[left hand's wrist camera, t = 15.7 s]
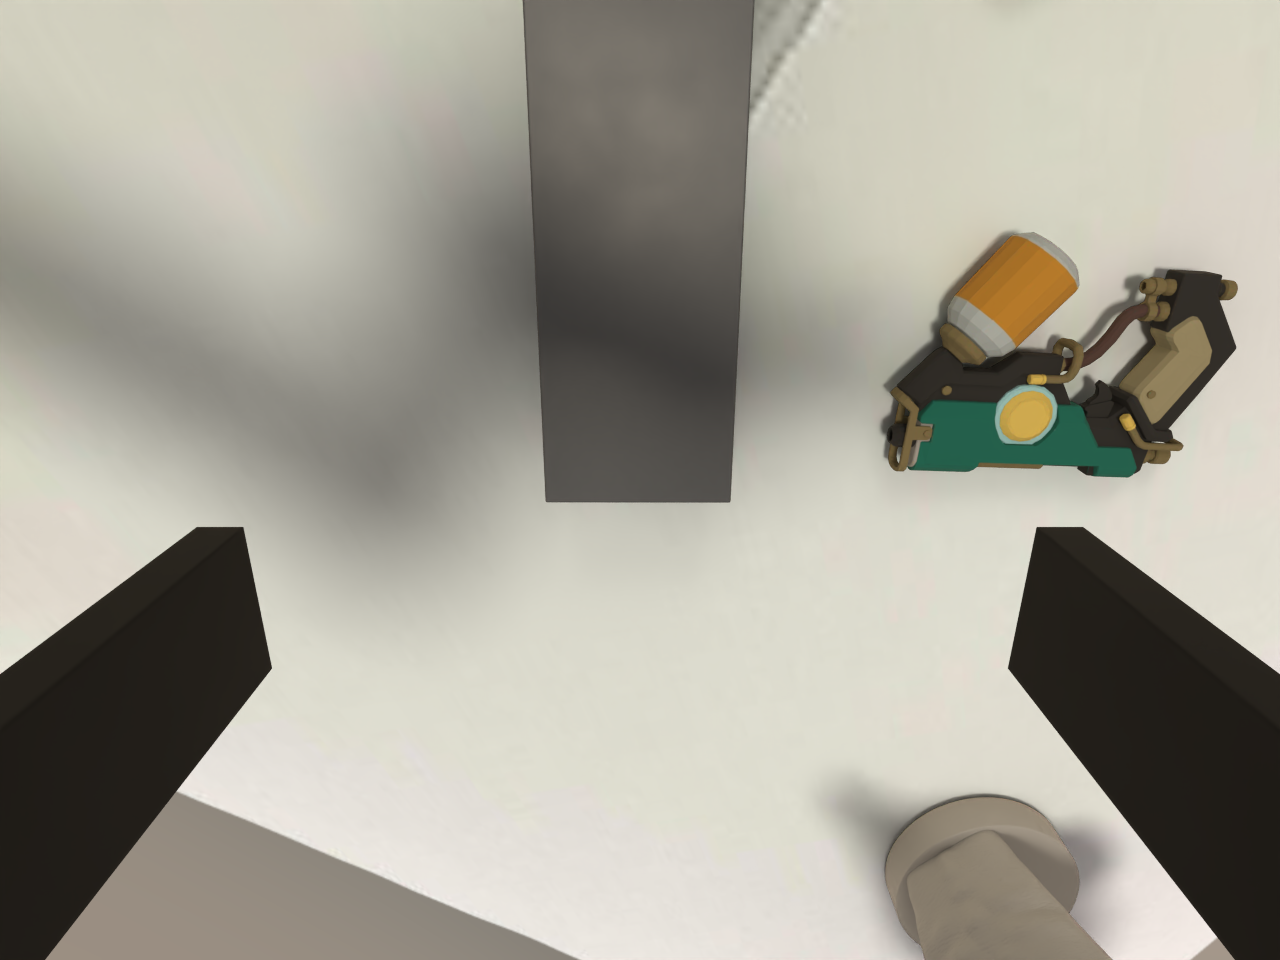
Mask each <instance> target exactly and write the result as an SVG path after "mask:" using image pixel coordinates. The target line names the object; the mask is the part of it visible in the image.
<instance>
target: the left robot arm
mask: <svg viewBox="0 0 1280 960" xmlns="http://www.w3.org/2000/svg"><path fill="white" fill-rule="evenodd" d="M271 669H272V666H271V661H270V656H269V651H268V646H267V641H266V636H265V632H264V627H263V622H262V617H261V612H260V607H259V602H258V597H257V592H256V587H255V582H254V578H253V573H252V568H251V563H250V558H249V553H248V548H247V543H246V538H245V533H244V528H243V527H196V528H195V529H194V530H192V531H191V532H190V533H188V534H187V535H186V536H184V537H183V538H182V539H180V540H179V541H178V542H176V543H175V544H174V545H172V546H171V547H170V548H168V549H167V550H166V551H164V552H163V553H162V554H160V555H159V556H158V557H156V558H155V559H154V560H152V561H151V562H150V563H148V564H147V565H146V566H144V567H143V568H142V569H140V570H139V571H138V572H136V573H135V574H134V575H132V576H131V577H130V578H128V579H127V580H126V581H124V582H123V583H122V584H120V585H119V586H118V587H116V588H115V589H114V590H112V591H111V592H110V593H108V594H107V595H106V596H104V597H103V598H102V599H100V600H99V601H97V602H96V603H95V604H93V605H92V606H91V607H89V608H88V609H87V610H85V611H84V612H83V613H81V614H80V615H79V616H77V617H76V618H75V619H73V620H72V621H71V622H69V623H68V624H67V625H65V626H64V627H63V628H61V629H60V630H59V631H57V632H56V633H55V634H53V635H52V636H51V637H49V638H48V639H47V640H45V641H44V642H43V643H41V644H40V645H39V646H37V647H36V648H35V649H33V650H32V651H31V652H29V653H28V654H27V655H25V656H24V657H23V658H21V659H20V660H19V661H17V662H16V663H15V664H13V665H12V666H11V667H9V668H8V669H7V670H5V671H4V672H3V673H1V674H0V960H45V959H46V958H47V957H48V955H49V954H50V953H51V951H52V950H53V949H54V948H55V946H56V945H57V944H58V942H59V941H60V940H61V939H62V937H63V936H64V935H65V933H66V932H67V931H68V930H69V928H70V927H71V926H72V925H73V923H74V922H75V921H76V919H77V918H78V917H79V915H80V914H81V913H82V912H83V910H84V909H85V908H86V907H87V905H88V904H89V903H90V901H91V900H92V899H93V898H94V896H95V895H96V894H97V892H98V891H99V890H100V888H101V887H102V886H103V885H104V883H105V882H106V881H107V880H108V878H109V877H110V876H111V874H112V873H113V872H114V871H115V869H116V868H117V867H118V865H119V864H120V863H121V862H122V860H123V859H124V858H125V856H126V855H127V854H128V853H129V851H130V850H131V849H132V847H133V846H134V845H135V844H136V842H137V841H138V840H139V838H140V837H141V836H142V835H143V833H144V832H145V831H146V829H147V828H148V827H149V826H150V824H151V823H152V822H153V821H154V819H155V818H156V817H157V815H158V814H159V813H160V812H161V810H162V809H163V808H164V806H165V805H166V804H167V803H168V801H169V800H170V799H171V797H172V796H173V795H174V793H175V792H176V791H177V790H178V788H179V787H180V786H181V785H182V783H183V782H184V781H185V779H186V778H187V777H188V776H189V774H190V773H191V772H192V770H193V769H194V768H195V767H196V765H197V764H198V763H199V761H200V760H201V759H202V758H203V756H204V755H205V754H206V752H207V751H208V750H209V749H210V747H211V746H212V745H213V743H214V742H215V741H216V740H217V738H218V737H219V736H220V734H221V733H222V732H223V731H224V729H225V728H226V727H227V726H228V724H229V723H230V722H231V720H232V719H233V718H234V717H235V715H236V714H237V713H238V711H239V710H240V709H241V708H242V706H243V705H244V704H245V702H246V701H247V700H248V699H249V697H250V696H251V695H252V693H253V692H254V691H255V690H256V688H257V687H258V686H259V684H260V683H261V682H262V681H263V679H264V678H265V677H266V675H267V674H268V673H269V672H270V670H271ZM1008 669H1009V670H1010V672H1011V673H1012V674H1013V675H1014V677H1015V678H1016V679H1017V681H1018V682H1019V683H1020V684H1021V686H1022V687H1023V688H1024V690H1025V691H1026V692H1027V693H1028V695H1029V696H1030V697H1031V699H1032V700H1033V701H1034V702H1035V704H1036V705H1037V706H1038V708H1039V709H1040V710H1041V711H1042V713H1043V714H1044V715H1045V717H1046V718H1047V719H1048V720H1049V722H1050V723H1051V724H1052V726H1053V727H1054V728H1055V729H1056V731H1057V732H1058V733H1059V735H1060V736H1061V737H1062V738H1063V740H1064V741H1065V742H1066V743H1067V745H1068V746H1069V747H1070V749H1071V750H1072V751H1073V752H1074V754H1075V755H1076V756H1077V758H1078V759H1079V760H1080V761H1081V763H1082V764H1083V765H1084V767H1085V768H1086V769H1087V770H1088V772H1089V773H1090V774H1091V776H1092V777H1093V778H1094V779H1095V781H1096V782H1097V783H1098V785H1099V786H1100V787H1101V788H1102V790H1103V791H1104V792H1105V794H1106V795H1107V796H1108V797H1109V799H1110V800H1111V801H1112V803H1113V804H1114V805H1115V806H1116V808H1117V809H1118V810H1119V812H1120V813H1121V814H1122V815H1123V817H1124V818H1125V819H1126V821H1127V822H1128V823H1129V824H1130V826H1131V827H1132V828H1133V830H1134V831H1135V832H1136V833H1137V835H1138V836H1139V837H1140V838H1141V840H1142V841H1143V842H1144V844H1145V845H1146V846H1147V847H1148V849H1149V850H1150V851H1151V853H1152V854H1153V855H1154V856H1155V858H1156V859H1157V860H1158V862H1159V863H1160V864H1161V865H1162V867H1163V868H1164V869H1165V871H1166V872H1167V873H1168V874H1169V876H1170V877H1171V878H1172V880H1173V881H1174V882H1175V883H1176V885H1177V886H1178V887H1179V889H1180V890H1181V891H1182V892H1183V894H1184V895H1185V896H1186V898H1187V899H1188V900H1189V901H1190V903H1191V904H1192V905H1193V907H1194V908H1195V909H1196V910H1197V912H1198V913H1199V914H1200V916H1201V917H1202V918H1203V919H1204V921H1205V922H1206V923H1207V925H1208V926H1209V927H1210V928H1211V930H1212V931H1213V932H1214V933H1215V935H1216V936H1217V937H1218V939H1219V940H1220V941H1221V942H1222V944H1223V945H1224V946H1225V948H1226V949H1227V950H1228V951H1229V953H1230V954H1231V955H1232V957H1233V958H1234V959H1235V960H1280V674H1279V673H1277V672H1276V671H1275V670H1273V669H1272V668H1271V667H1269V666H1268V665H1267V664H1265V663H1264V662H1263V661H1261V660H1260V659H1259V658H1257V657H1256V656H1255V655H1253V654H1252V653H1251V652H1249V651H1248V650H1247V649H1245V648H1244V647H1243V646H1241V645H1240V644H1239V643H1237V642H1236V641H1235V640H1233V639H1232V638H1231V637H1229V636H1228V635H1227V634H1225V633H1224V632H1223V631H1221V630H1220V629H1219V628H1217V627H1216V626H1215V625H1213V624H1212V623H1211V622H1209V621H1208V620H1207V619H1205V618H1204V617H1203V616H1201V615H1200V614H1199V613H1197V612H1196V611H1195V610H1193V609H1192V608H1191V607H1189V606H1188V605H1187V604H1185V603H1184V602H1183V601H1181V600H1180V599H1178V598H1177V597H1176V596H1174V595H1173V594H1172V593H1170V592H1169V591H1168V590H1166V589H1165V588H1164V587H1162V586H1161V585H1160V584H1158V583H1157V582H1156V581H1154V580H1153V579H1152V578H1150V577H1149V576H1148V575H1146V574H1145V573H1144V572H1142V571H1141V570H1140V569H1138V568H1137V567H1136V566H1134V565H1133V564H1132V563H1130V562H1129V561H1128V560H1126V559H1125V558H1124V557H1122V556H1121V555H1120V554H1118V553H1117V552H1116V551H1114V550H1113V549H1112V548H1110V547H1109V546H1108V545H1106V544H1105V543H1104V542H1102V541H1101V540H1100V539H1098V538H1097V537H1096V536H1094V535H1093V534H1092V533H1090V532H1089V531H1088V530H1086V529H1085V528H1084V527H1037V528H1036V533H1035V538H1034V543H1033V548H1032V553H1031V558H1030V563H1029V568H1028V573H1027V577H1026V582H1025V587H1024V592H1023V597H1022V602H1021V607H1020V612H1019V617H1018V622H1017V627H1016V632H1015V636H1014V641H1013V646H1012V651H1011V656H1010V661H1009V666H1008Z"/></svg>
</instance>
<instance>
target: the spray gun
mask: <svg viewBox="0 0 1280 960" xmlns="http://www.w3.org/2000/svg"><path fill="white" fill-rule="evenodd" d="M1221 279H1222V275H1220V274H1215V273H1210V272H1205V271H1186V270H1168V271H1167V274H1166V278H1165V280H1164V279H1163V278H1157V277H1152V278H1149V279H1144V280H1143V281H1142V282H1141V283H1140V288H1139V290H1140V292H1142V293H1143V294H1146V297H1145V301H1144V302H1142V303H1140V304H1139V305H1136V306H1132V307H1130V308H1128V309H1126V310H1124V311H1123V312H1122V313H1121V314H1120V315H1119V316H1118V317H1117V318H1116V319H1115V320H1114V322H1113V323H1112V325H1111V326H1110V327H1109V329H1108V330H1107V331H1106V333H1105V334H1104V335H1103V336H1102V337H1101V338H1100V339H1099V340H1098V341H1097V342H1096V344H1095V345H1093V346H1092V347H1091V348H1090V349H1088V350H1087V351H1086V352H1083V347H1082V346H1081V345H1080V344H1079V343H1077V342H1076V341H1074V340H1072V339H1066V338H1061V339H1059V340H1058V341H1057V343H1056V344H1055V345H1054V347H1053V351H1052V353H1029V352H1016V353H1014V354H1012V355H1011V356H1009V357H1007V358H1006V359H1004V360H1002V361H1001V362H999V363H997V364H996V365H994V366H992V367H991V368H963V365H962V363H971V364H975V365H980V364H981V363H982V362H983V361H984V360H985V359H986V356H987V357H997V356H1004V355H1005V354H1007V353H1009V352H1011V351H1012V350H1014V349H1015V348H1016V347H1018V346H1019V345H1020V344H1021V343H1022V342H1023V341H1024V340H1025V339H1026V338H1027V337H1028V336H1029V335H1030V334H1031V333H1032V332H1033V331H1034V330H1036V329H1037V328H1038V327H1039V326H1040V325H1041V324H1042V323H1043V322H1044V321H1045V320H1046V319H1047V318H1048V317H1049V316H1050V315H1051V314H1052V313H1054V312H1055V311H1056V310H1057V309H1058V308H1059V307H1060V306H1061V305H1062V304H1063V303H1064V302H1065V301H1066V300H1067V299H1068V298H1069V297H1070V296H1072V295H1073V294H1074V293H1075V292H1076V290H1077V289H1078V287H1079V275H1078V270H1077V267H1076V265H1075V264H1074V262H1073V261H1072V260H1071V259H1070V257H1069V256H1067V255H1066V254H1065V253H1064V252H1063V251H1062V250H1061V249H1060V248H1059V247H1057V246H1056V245H1055V244H1053V243H1052V242H1051V241H1049V240H1047V239H1045V238H1044V237H1042V236H1040V235H1038V234H1036V233H1034V232H1032V233H1022V234H1014V235H1012V236H1011V237H1010V238H1009V239H1008V240H1007V241H1006V242H1005V243H1004V244H1003V245H1002V246H1001V247H1000V248H999V249H998V250H997V251H996V253H995V254H994V255H993V256H992V257H991V258H990V259H989V260H988V261H987V262H986V263H985V264H984V265H983V266H982V267H981V268H980V269H979V270H978V271H977V272H976V274H975V275H974V276H973V277H972V278H971V279H970V280H969V281H968V282H967V283H966V284H965V285H964V286H963V287H962V288H961V289H960V290H959V291H958V292H957V293H956V295H955V296H954V297H953V299H952V301H951V303H950V304H949V306H948V324H947V323H945V324H944V325H943V326H942V327H941V328H940V331H939V332H940V335H941V338H942V345H943V347H940V348H938V349H936V350H935V351H933V352H932V353H931V354H930V355H929V356H928V357H927V358H926V359H925V360H924V361H922V362H921V363H920V364H919V365H918V366H917V367H916V368H915V369H914V370H913V371H912V372H911V373H909V374H908V375H907V376H906V377H905V378H904V379H903V380H902V381H901V382H900V383H899V384H897V387H898V388H897V387H895V388H894V389H893V390H892V391H891V392H890V393H891V395H892V396H893V397H894V398H895V399H896V400H897V401H898V402H899V404H898V409H897V414H896V418H895V423H894V425H892V426H891V427H890V428H889V429H888V432H887V438H888V441H889V443H890V448H889V455H888V460H889V464H890V466H891V467H892V468H893V469H894V470H895V471H904V470H905V469H906V468H907V467H908V469H910V470H923V471H956V472H969V471H971V470H973V469H975V468H976V467H1000V468H1031V469H1039V468H1041V467H1042V466H1043V465H1051V466H1078V468H1077V469H1078V470H1080V471H1081V472H1083V473H1084V474H1086V475H1091V476H1100V477H1130V476H1132V475H1133V474H1135V473H1137V472H1138V471H1139V470H1140V469H1141V467H1142V464H1143V463H1146V462H1148V463H1151V464H1165V463H1166V462H1168V460H1169V458H1170V456H1171V452H1170V451H1180V450H1182V448H1183V444H1182V443H1181V442H1179V441H1177V440H1175V439H1173V435H1172V431H1171V430H1169V427H1170V426H1171V425H1172V424H1173V423H1174V422H1175V421H1176V419H1177V418H1178V417H1179V416H1180V415H1181V414H1182V412H1183V411H1184V410H1185V409H1186V408H1187V407H1188V405H1189V404H1190V403H1191V402H1192V401H1193V400H1194V399H1195V397H1196V396H1197V395H1198V394H1199V393H1200V391H1201V390H1202V389H1203V388H1204V387H1205V385H1206V384H1207V383H1208V382H1209V381H1210V379H1211V378H1212V377H1213V376H1214V375H1215V373H1216V372H1217V371H1218V370H1219V369H1220V367H1221V366H1222V365H1223V364H1224V363H1225V361H1226V360H1227V359H1228V358H1229V357H1230V355H1231V354H1232V353H1233V352H1234V351H1235V349H1236V345H1235V342H1234V339H1233V336H1232V334H1231V331H1230V328H1229V325H1228V322H1227V320H1226V317H1225V314H1224V311H1223V309H1222V306H1221V303H1220V300H1230V299H1232V298H1233V297H1234V296H1235V295H1236V293H1237V290H1238V287H1237V284H1236V282H1234V281H1230V280H1221ZM1159 295H1160V296H1159ZM1157 296H1159V299H1158V302H1157V303H1156V299H1157ZM1135 319H1138V320H1139V321H1151V324H1150V325H1151V329H1150V332H1151V335H1152V337H1153V338H1154V340H1155V343H1156V344H1155V346H1154V347H1153V348H1152V349H1151V350H1150V351H1149V352H1148V353H1147V354H1146V355H1145V356H1144V357H1143V358H1142V360H1141V361H1140V362H1139V363H1138V364H1137V365H1136V366H1135V367H1134V368H1133V369H1132V370H1131V371H1130V372H1129V373H1128V375H1127V376H1126V377H1125V378H1124V379H1123V380H1122V381H1121V383H1120V385H1119V388H1117V387H1115V386H1109V387H1108V386H1107V385H1106V384H1105V383H1104V382H1102V381H1101V380H1098V381H1097V382H1096V383H1095V386H1096V391H1095V394H1094V395H1093V396H1092V397H1091V398H1089V399H1088V400H1086V402H1084V403H1082V404H1080V405H1078V404H1076V403H1074V402H1072V401H1069V398H1068V395H1067V392H1066V390H1065V387H1064V384H1063V383H1067V382H1069V381H1071V380H1072V379H1074V378H1075V376H1076V375H1077V374H1078V372H1079V370H1080V368H1082V367H1085V366H1087V365H1089V364H1091V363H1092V362H1094V361H1095V360H1097V359H1098V358H1100V357H1101V356H1102V355H1103V354H1104V353H1105V352H1106V351H1107V350H1108V349H1109V348H1110V347H1111V346H1112V345H1113V344H1114V343H1115V342H1116V341H1117V339H1118V338H1119V337H1120V335H1121V334H1122V333H1123V331H1124V330H1125V329H1126V327H1127V326H1128V325H1129V324H1130V323H1131V322H1132V321H1133V320H1135ZM1064 347H1066V348H1069V349H1070V350H1072V351H1073V355H1074V356H1073V357H1072V358H1063V356H1061V355H1062V350H1063V348H1064ZM1062 371H1068V372H1067V373H1066V374H1064V375H1060V373H1061V372H1062ZM912 400H913V401H914V402H913V401H912ZM906 408H907V409H908V412H909V416H904V414H905V409H906ZM1151 441H1158V442H1164V443H1151ZM898 447H902V452H901V456H900V461H899V463H898V461H897V457H896V456H897V449H898Z"/></svg>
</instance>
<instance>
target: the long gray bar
mask: <svg viewBox="0 0 1280 960" xmlns="http://www.w3.org/2000/svg"><path fill="white" fill-rule="evenodd" d="M523 15H524V37H525V59H526V80H527V102H528V124H529V146H530V168H531V190H532V212H533V234H534V256H535V278H536V299H537V321H538V343H539V365H540V387H541V409H542V431H543V453H544V475H545V497H546V502H730V500H731V479H732V458H733V437H734V417H735V396H736V375H737V354H738V333H739V312H740V291H741V270H742V249H743V228H744V208H745V187H746V166H747V145H748V124H749V103H750V82H751V61H752V40H753V19H754V0H523Z"/></svg>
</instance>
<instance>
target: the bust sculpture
mask: <svg viewBox="0 0 1280 960" xmlns="http://www.w3.org/2000/svg"><path fill="white" fill-rule="evenodd" d="M885 878H886V884H887V887H888V890H889V893H890V896H891V899H892V901H893V904H894V907H895V910H896V913H897V915H898V918H899V921H900V923H901V925H902V927H903V928H904V930H905V931H906V932H907V934H908V935H909V936H910V937H911V938H912V939H913V940H914V941H915V942H917V943H918V944H919V945H921V948H922V951H923V954H924V959H925V960H1112V959H1111V958H1110V957H1109V956H1108V955H1107V953H1106V952H1105V951H1104V950H1103V949H1102V948H1101V947H1100V946H1099V945H1098V944H1097V943H1096V942H1095V941H1094V940H1093V939H1092V938H1091V937H1090V936H1089V935H1088V934H1087V933H1086V932H1085V930H1083V929H1082V927H1081V926H1080V925H1079V924H1078V923H1077V922H1076V921H1075V920H1074V919H1073V917H1072V916H1071V915H1070V914H1069V912H1070V911H1071V909H1072V907H1073V905H1074V903H1075V901H1076V898H1077V895H1078V890H1079V873H1078V869H1077V865H1076V863H1075V861H1074V859H1073V857H1072V855H1071V854H1070V852H1069V851H1068V849H1067V848H1066V846H1065V845H1064V843H1063V842H1062V840H1061V839H1060V837H1059V836H1058V834H1057V833H1056V831H1055V829H1054V828H1053V826H1052V825H1051V824H1050V822H1049V821H1048V820H1047V819H1046V818H1045V817H1044V816H1043V815H1041V814H1040V813H1039V812H1037V811H1036V810H1034V809H1032V808H1031V807H1029V806H1027V805H1024V804H1022V803H1019V802H1016V801H1012V800H1008V799H1003V798H993V797H979V798H969V799H963V800H959V801H955V802H951V803H948V804H945V805H943V806H940V807H938V808H936V809H933V810H931V811H930V812H928V813H926V814H924V815H923V816H921V817H920V818H918V819H917V820H915V821H914V822H913V823H912V824H910V825H909V826H908V827H907V828H906V829H905V830H904V831H903V832H902V833H901V835H900V836H899V837H898V838H897V840H896V841H895V843H894V844H893V846H892V848H891V850H890V852H889V855H888V858H887V862H886V868H885Z"/></svg>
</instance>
